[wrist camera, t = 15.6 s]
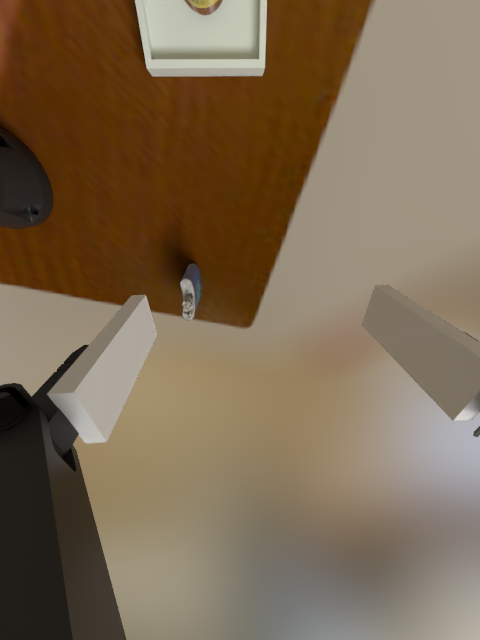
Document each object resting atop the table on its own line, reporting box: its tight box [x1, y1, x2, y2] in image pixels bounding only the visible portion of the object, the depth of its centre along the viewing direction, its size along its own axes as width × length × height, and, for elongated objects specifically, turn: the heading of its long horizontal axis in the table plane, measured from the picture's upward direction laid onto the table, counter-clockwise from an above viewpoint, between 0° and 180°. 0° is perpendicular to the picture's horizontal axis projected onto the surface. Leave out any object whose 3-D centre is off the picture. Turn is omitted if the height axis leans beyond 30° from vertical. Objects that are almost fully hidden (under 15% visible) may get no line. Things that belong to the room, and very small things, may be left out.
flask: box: [180, 264, 202, 320], centre depth 43 cm, size 9×3×11 cm, turn 176°
